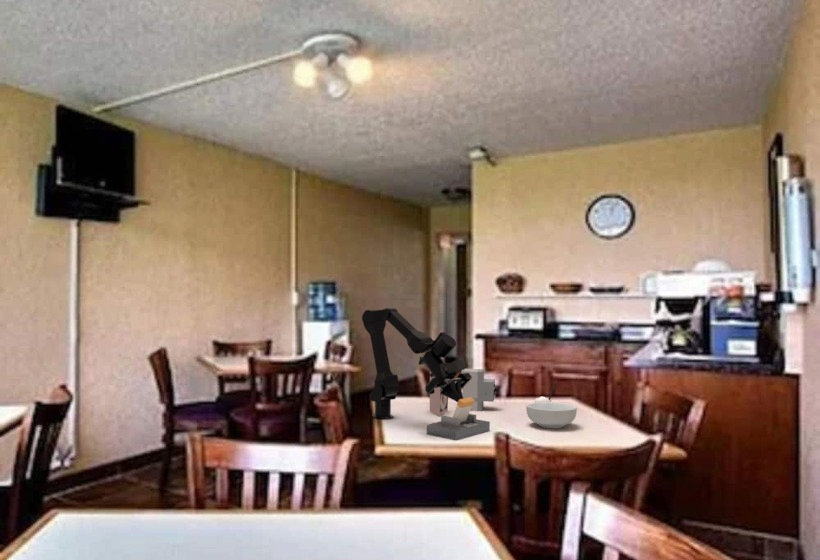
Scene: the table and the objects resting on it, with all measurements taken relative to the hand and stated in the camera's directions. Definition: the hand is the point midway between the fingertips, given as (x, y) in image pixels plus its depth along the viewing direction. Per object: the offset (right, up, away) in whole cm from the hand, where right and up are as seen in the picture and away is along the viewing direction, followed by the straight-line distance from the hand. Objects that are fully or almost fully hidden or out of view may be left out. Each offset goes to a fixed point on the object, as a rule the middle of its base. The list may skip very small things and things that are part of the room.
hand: (462, 403), depth 220 cm
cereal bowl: (+31, -10, +12) cm, 35 cm away
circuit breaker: (+10, -10, +41) cm, 43 cm away
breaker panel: (-1, -10, +1) cm, 10 cm away
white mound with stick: (+33, -10, +33) cm, 47 cm away
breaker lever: (-1, -6, +1) cm, 6 cm away
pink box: (-7, -10, +32) cm, 34 cm away
